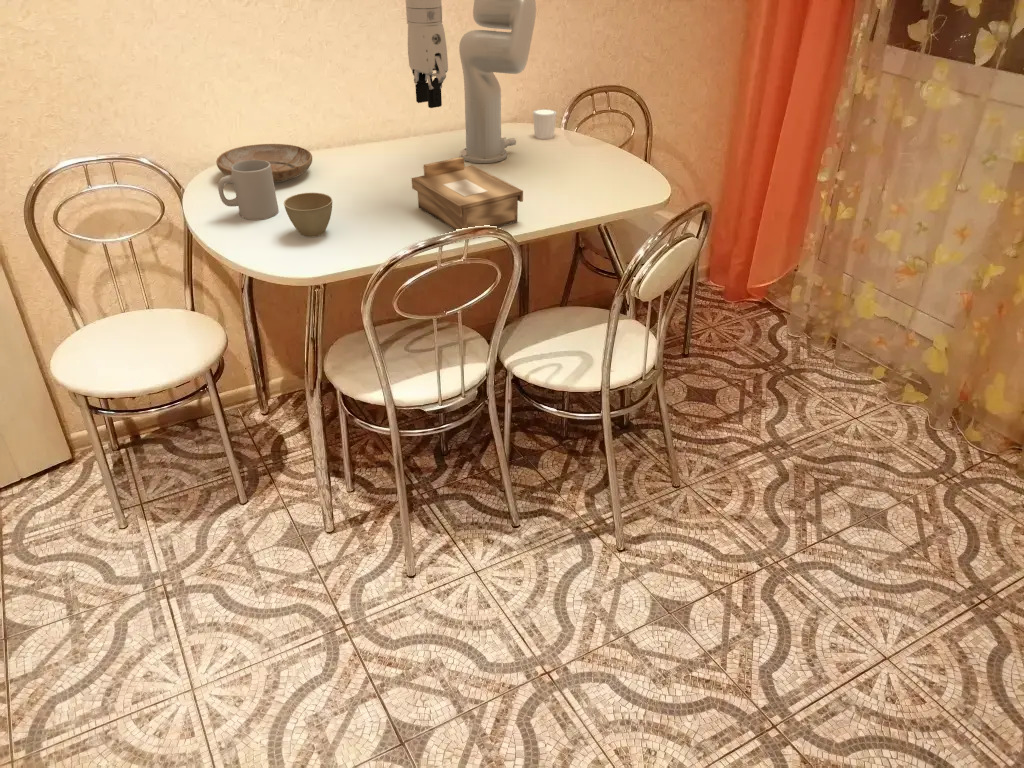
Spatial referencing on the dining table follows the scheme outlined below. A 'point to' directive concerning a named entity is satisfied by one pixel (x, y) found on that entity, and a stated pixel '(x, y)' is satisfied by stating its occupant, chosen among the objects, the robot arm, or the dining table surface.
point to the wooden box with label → (461, 185)
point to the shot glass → (544, 123)
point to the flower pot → (309, 212)
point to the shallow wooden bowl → (269, 159)
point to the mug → (251, 189)
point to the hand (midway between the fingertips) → (429, 103)
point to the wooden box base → (474, 213)
